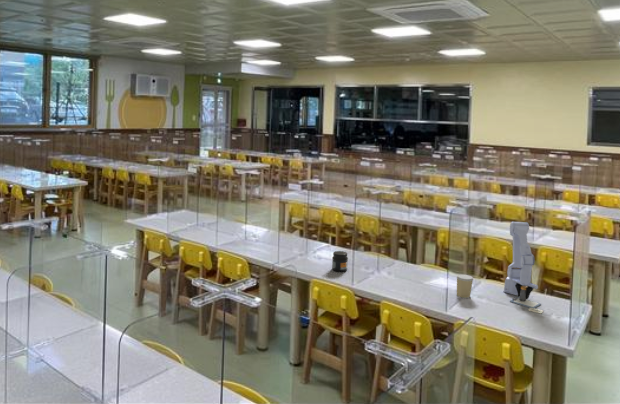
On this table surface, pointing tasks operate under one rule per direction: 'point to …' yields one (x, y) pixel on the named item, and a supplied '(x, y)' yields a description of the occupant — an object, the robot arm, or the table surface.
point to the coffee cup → (464, 285)
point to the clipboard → (525, 303)
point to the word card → (535, 310)
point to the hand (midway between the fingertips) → (523, 297)
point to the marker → (523, 293)
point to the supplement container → (339, 261)
